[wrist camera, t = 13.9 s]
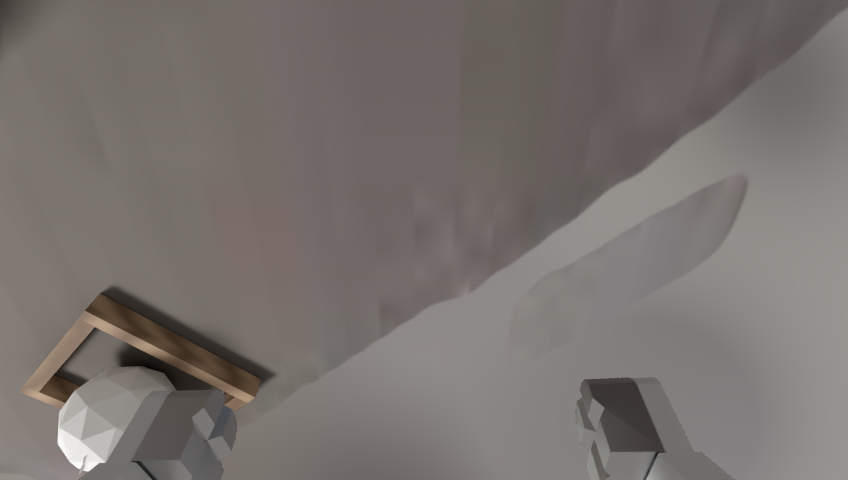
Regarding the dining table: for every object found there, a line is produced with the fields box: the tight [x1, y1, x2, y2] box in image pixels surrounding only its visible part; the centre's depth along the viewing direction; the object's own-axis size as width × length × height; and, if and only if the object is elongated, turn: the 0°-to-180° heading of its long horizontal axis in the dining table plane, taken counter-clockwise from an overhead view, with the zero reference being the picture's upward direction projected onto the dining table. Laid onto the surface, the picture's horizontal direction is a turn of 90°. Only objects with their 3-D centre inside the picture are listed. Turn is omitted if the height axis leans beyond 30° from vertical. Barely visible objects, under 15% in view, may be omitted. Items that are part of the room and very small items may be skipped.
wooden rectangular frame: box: [19, 294, 261, 412], centre depth 65 cm, size 24×24×3 cm
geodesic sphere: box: [58, 366, 177, 474], centre depth 61 cm, size 15×14×14 cm
